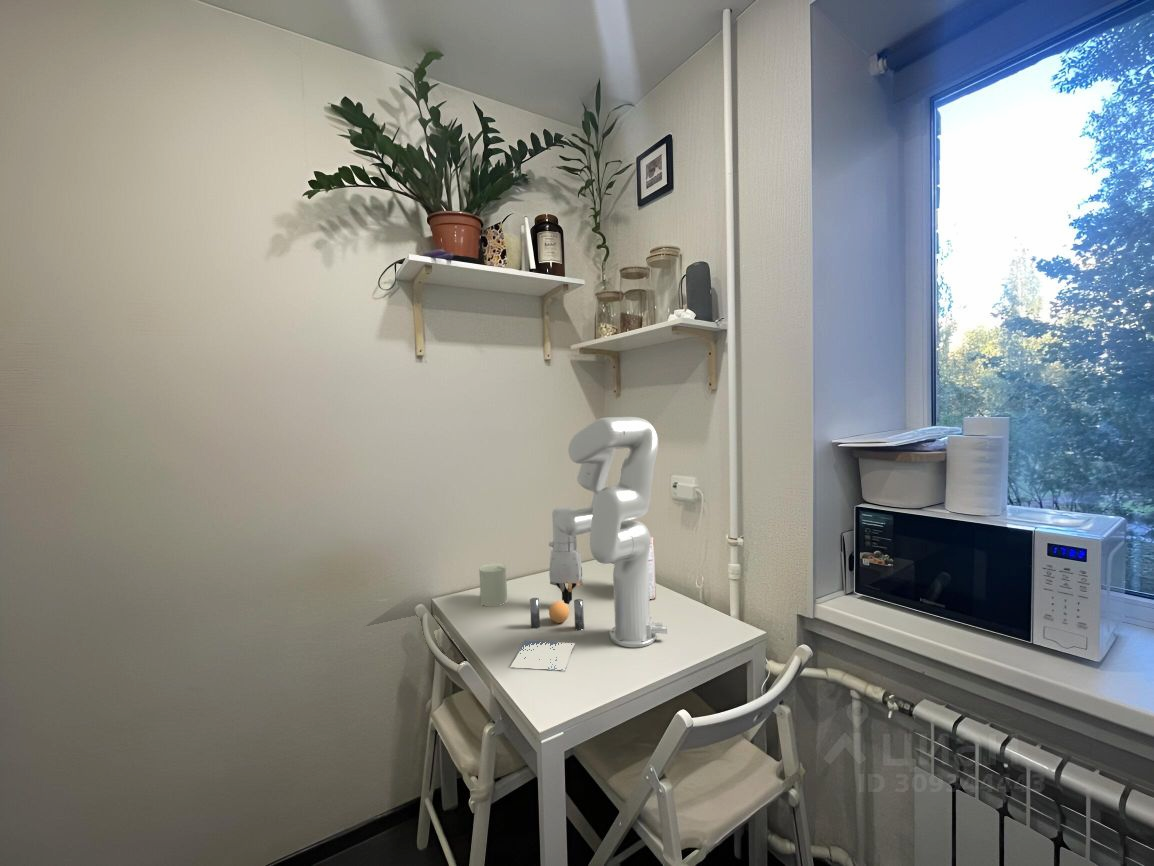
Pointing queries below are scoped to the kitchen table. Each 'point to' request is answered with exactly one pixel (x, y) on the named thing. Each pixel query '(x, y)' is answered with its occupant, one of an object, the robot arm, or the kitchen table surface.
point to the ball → (559, 612)
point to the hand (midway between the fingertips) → (567, 602)
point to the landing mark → (528, 642)
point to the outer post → (534, 612)
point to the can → (493, 584)
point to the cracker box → (651, 571)
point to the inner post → (579, 614)
